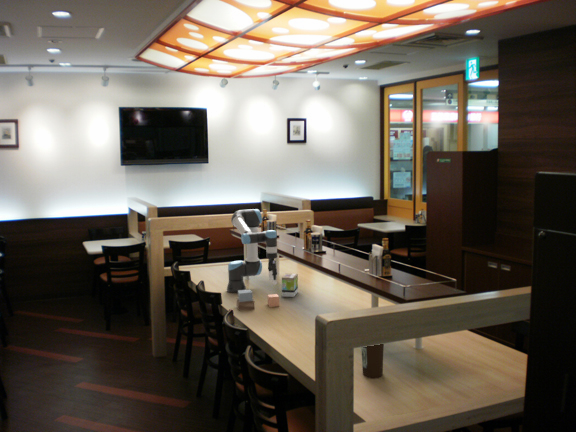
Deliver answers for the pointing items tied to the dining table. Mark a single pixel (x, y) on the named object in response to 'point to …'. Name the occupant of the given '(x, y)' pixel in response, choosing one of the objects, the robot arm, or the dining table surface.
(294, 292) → the tea box
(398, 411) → the dining table surface
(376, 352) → the brown coffee cup
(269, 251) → the robot arm
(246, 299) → the slate block
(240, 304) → the walnut block
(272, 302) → the terracotta cube
